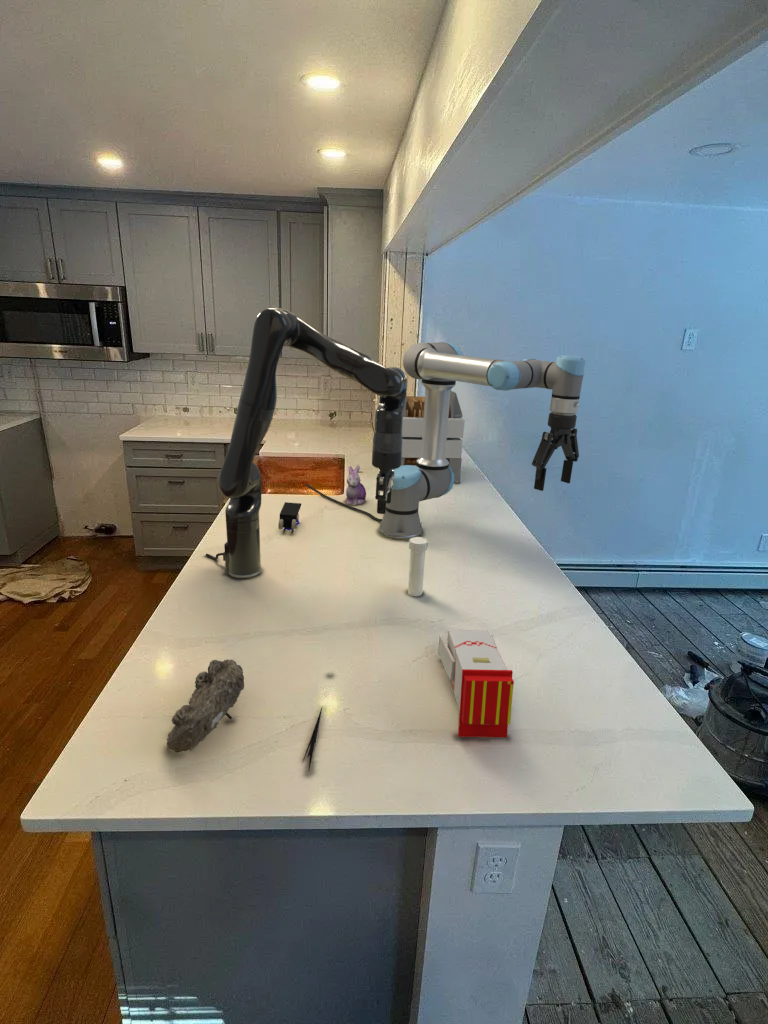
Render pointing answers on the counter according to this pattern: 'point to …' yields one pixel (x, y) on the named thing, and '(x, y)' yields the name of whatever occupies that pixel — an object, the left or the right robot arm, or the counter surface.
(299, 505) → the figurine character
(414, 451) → the white slatted crate
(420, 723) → the counter surface
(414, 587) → the white long cylinder
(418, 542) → the lid
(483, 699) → the toy
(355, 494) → the figurine
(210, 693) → the fossil
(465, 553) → the counter surface
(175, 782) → the counter surface
